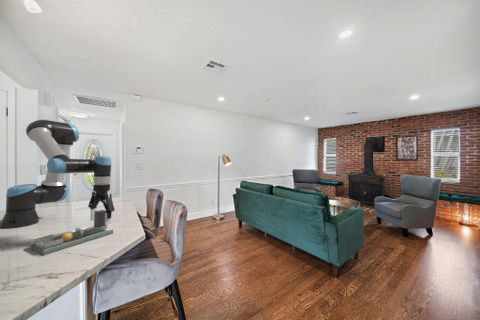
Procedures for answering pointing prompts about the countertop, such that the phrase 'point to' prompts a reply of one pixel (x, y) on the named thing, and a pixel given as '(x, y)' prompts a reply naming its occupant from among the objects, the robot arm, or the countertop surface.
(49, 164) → the robot arm
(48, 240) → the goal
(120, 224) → the countertop surface
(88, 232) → the block
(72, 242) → the grey-green channel tray
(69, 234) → the ball
